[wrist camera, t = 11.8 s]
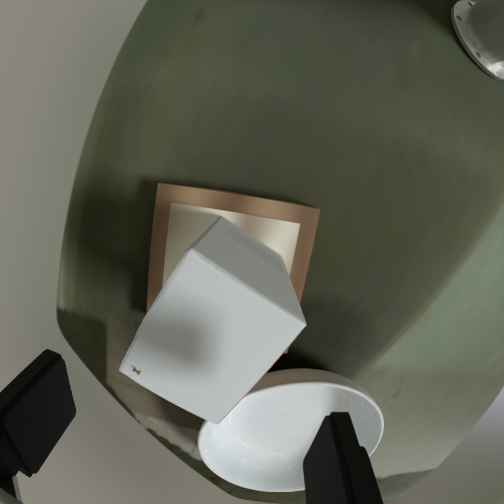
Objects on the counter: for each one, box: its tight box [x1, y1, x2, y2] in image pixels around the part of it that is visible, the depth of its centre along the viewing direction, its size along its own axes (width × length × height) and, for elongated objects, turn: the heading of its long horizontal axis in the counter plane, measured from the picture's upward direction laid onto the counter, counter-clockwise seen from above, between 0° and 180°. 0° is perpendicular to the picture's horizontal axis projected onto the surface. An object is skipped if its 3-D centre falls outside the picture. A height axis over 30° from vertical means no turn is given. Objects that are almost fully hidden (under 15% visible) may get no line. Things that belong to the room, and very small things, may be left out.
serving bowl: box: [197, 368, 384, 492], centre depth 30 cm, size 21×21×7 cm
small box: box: [119, 216, 306, 424], centre depth 19 cm, size 8×6×13 cm
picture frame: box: [147, 183, 320, 353], centre depth 27 cm, size 14×14×3 cm
